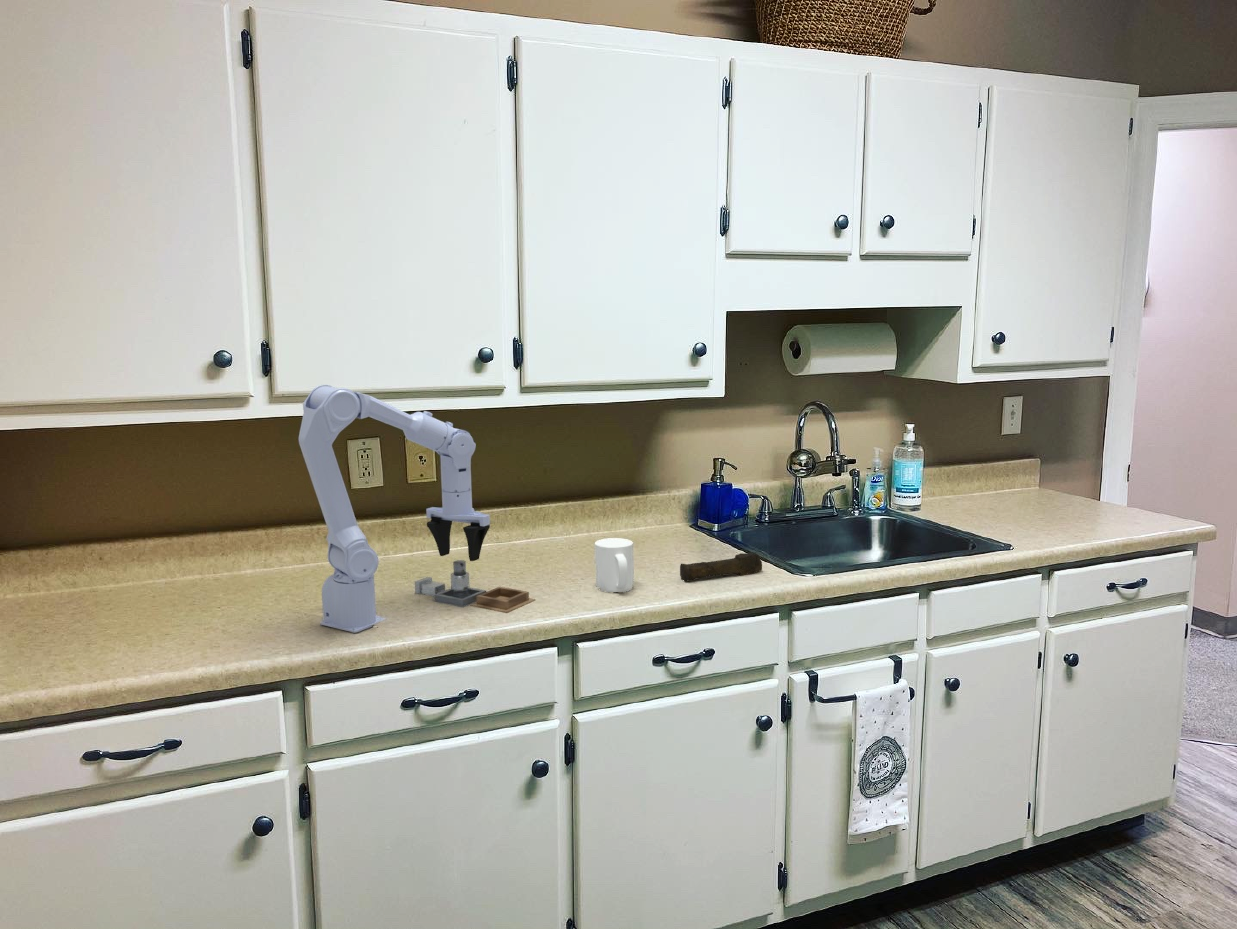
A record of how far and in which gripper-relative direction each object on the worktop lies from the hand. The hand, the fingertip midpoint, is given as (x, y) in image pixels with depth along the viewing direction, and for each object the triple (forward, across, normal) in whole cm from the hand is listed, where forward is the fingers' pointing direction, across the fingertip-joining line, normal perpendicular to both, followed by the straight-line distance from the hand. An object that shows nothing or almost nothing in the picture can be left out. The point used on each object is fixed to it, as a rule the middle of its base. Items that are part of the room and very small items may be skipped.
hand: (459, 557), depth 188 cm
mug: (+9, -22, -23) cm, 33 cm away
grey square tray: (+9, 0, 0) cm, 9 cm away
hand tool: (+10, -37, -42) cm, 57 cm away
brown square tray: (+9, -9, -2) cm, 13 cm away
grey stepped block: (+9, +8, 0) cm, 12 cm away
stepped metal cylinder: (+8, 0, 0) cm, 8 cm away
